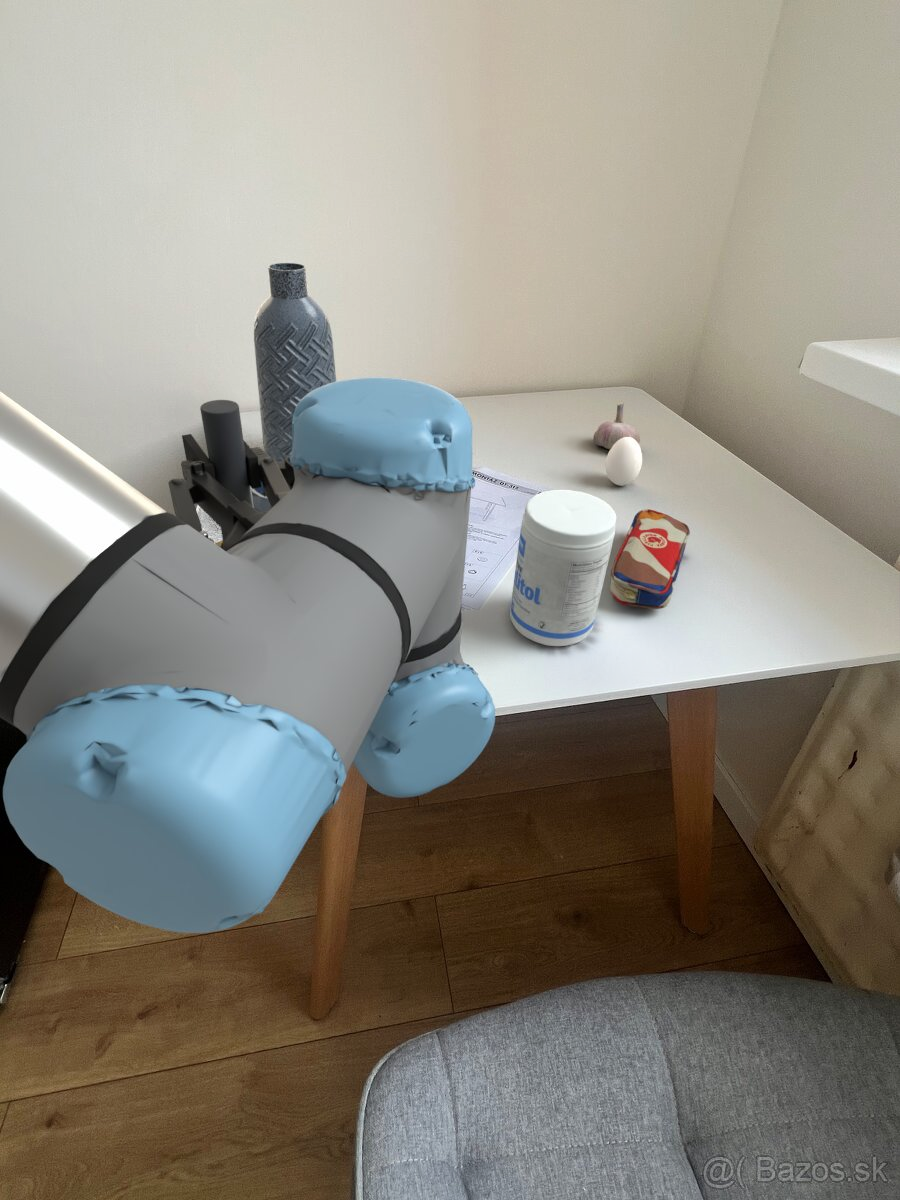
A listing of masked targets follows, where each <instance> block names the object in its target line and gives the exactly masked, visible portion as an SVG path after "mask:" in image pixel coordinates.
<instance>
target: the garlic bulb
mask: <svg viewBox="0 0 900 1200" xmlns="http://www.w3.org/2000/svg"><path fill="white" fill-rule="evenodd" d="M616 406H617V407H616V415H615V416H616V417H615V420H611V421H604V422H602V423H601V424H600V425H599V426H597V429H596V431H595V432H594V434H593V436H592V437H593V443H594V444H595V445H596V446H598V447H603V448H605V449H607V450H609V451H610V450H611V448H612V446H613V445H614V444H615V443H616V442H617V441H618V440H620V439H621V438H624V437H631V438H633V439H634V440H636V441H637V443H638V444H639V445H640V441H641V437H640V434H639V433H638V431H637V429H636V428H635V427H634V426H633V425H629V424H628V423H626V422H624V402H623V401H620V402H618V403H617V405H616Z"/></svg>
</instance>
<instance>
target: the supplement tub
mask: <svg viewBox="0 0 900 1200" xmlns="http://www.w3.org/2000/svg"><path fill="white" fill-rule="evenodd" d="M616 523H617V515H616V512H615V510H614V509H613V508H612V506H611V505H610V504H609V503H608V502H606V501H604V500H603V499H601V498H599V497H597V496H595V495H593V494H589V493H587V492H583V491H579V490H571V489H551V490H545V491H542V492H539V493H537V494H535V495H533V496H531V497H530V498H529V499H528V501H527V502H526V504H525V507H524V513H523V515H522V520H521V525H520V533H519V539H518V546H517V555H516V562H515V570H514V577H513V578H514V579H513V583H512V584H513V586H512V592H511V599H510V600H511V601H510V610H509V617H510V621H511V623H512V625H513V627H514V629H516V631H518V633H520V635H522V636H524V637H525V638H527V639H529V640H531V641H533V642H535V643H537V644H541V645H544V646H551V647H565V646H571V645H575V644H578V643H580V642H581V641H583V640H585V639H587V637H588V636H589V635H590V634H591V632H592V630H593V628H594V625H595V621H596V618H597V617H596V616H597V612H598V608H599V603H600V599H601V596H602V590H603V587H604V583H605V577H606V574H607V568H608V564H609V560H610V556H611V551H612V549H613V544H614V538H615V534H616Z"/></svg>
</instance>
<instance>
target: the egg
mask: <svg viewBox="0 0 900 1200" xmlns="http://www.w3.org/2000/svg"><path fill="white" fill-rule="evenodd" d="M642 465H643V453H642V448H641V446H640V443H639V444H638V443H637V441H636V440H634V439H633V438H631V437H624V438H621V439H620V440H618V441H617V442H616V443H615V444H614V445H613V446H612V448H611V449H610V450H609V451H608V453H607V456H606V460H605V473H606V476H607V477H608V479H609V480H610V482H612V483H613V485H616V486H626V485H629V484H631V483H632V482H633V481H635V479H637V477H638V476H639V474H640V472H641V468H642Z"/></svg>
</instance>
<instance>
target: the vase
mask: <svg viewBox="0 0 900 1200" xmlns="http://www.w3.org/2000/svg"><path fill="white" fill-rule="evenodd" d="M307 271H308V270H307V267H306V265H305V264H301V263H295V262H277V263H272V264H269V265H267V274H268V285H269V296H268V297H267V298H266V299H265V300H264V301H263V302H262V303H261V305H260V306H259V307H258V309H257V312H256V313H255V318H254V327H253V343H254V344H253V345H254V356H255V367H256V377H257V378H256V379H257V389H258V401H259V402H258V403H259V413H260V422H261V423H260V425H261V435H262V447H263V448H262V449H263V451H264V452H265V453H266V454H267V455H268V457H272V458H274V459H275V460H276V462H284V459H285V458H286V457H288V456H290V454H289V453H290V452H291V451H292V421H293V414H294V413H295V408H296V406H297V404H298V403H299V402H300V400H301V399H302V398H303V397H304V396H305V395H307V394H308V393H310V392H311V391H313V390H315V389H316V388H319V387H321V386H324V385H326V384H329V383H333V382H337V374H336V363H335V353H334V352H335V351H334V340H333V334H332V329H331V324H330V320H329V318H328V316H327V313H326V312H325V310H324V308H323V306H322V305H321V304H319V302H317V300H315V299H314V298H313V297H311V296H310V294H309V284H308V272H307Z"/></svg>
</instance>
